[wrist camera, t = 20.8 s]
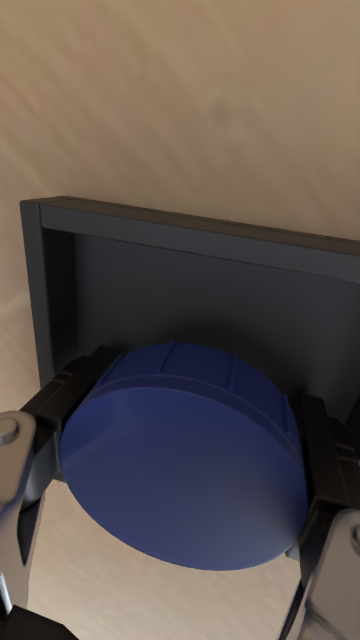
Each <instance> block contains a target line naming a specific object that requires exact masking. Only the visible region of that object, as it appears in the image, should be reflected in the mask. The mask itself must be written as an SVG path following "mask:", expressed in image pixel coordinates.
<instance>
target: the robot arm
mask: <svg viewBox="0 0 360 640" xmlns="http://www.w3.org/2000/svg"><path fill="white" fill-rule="evenodd" d="M121 354H122V355H123V356H124V351H123V350H122V349H118V348H114V347H109V346H105V345H101V346H99V347H98V348H97V349H96V350H95V351H94V352H93V354H92V355H91V356H90V357H89V356H85V355H83V356H81V357H79V358H77V359H75V360H73V361H71V362H69V363H68V364H67V365H66V366H65V367H64V368H63V369H62V370H61V371H60V373H58V374H57V375H56V376H55V377H54V378H52V381H49V382H48V383H47V384H46V385H45V386H44V387H43V388H42V389H41V390H40V391H39V392H38V393H37V394H36V395H35V396H34V397H33V398H32V399H31V400H30V401H28V402H27V403H26V404H25V405H24V406H23V407H22V408H21V409H20V410H19V411H7V412H3V413H0V640H79V639H78V638H77V637H76V636H75V635H73V634H72V633H71V632H70V631H69V630H68V629H67V628H66V627H65V626H64V625H63V624H60V623H58V622H55V621H53V620H51V619H48V618H46V617H43V616H41V615H39V614H36V613H34V612H31V611H29V610H27V603H28V585H29V574H30V568H31V563H32V558H33V554H34V549H35V544H36V539H37V534H38V530H39V525H40V520H41V515H42V510H43V506H44V501H45V490H46V488H47V487H48V485H49V484H50V482H51V481H52V480H53V479H55V480H58V481H61V482H65V483H66V480H65V478H64V475H63V472H62V469H61V464H60V458H59V445H60V439H61V434H62V432H63V429H64V427H65V424H66V423H67V421H68V420H69V418H70V417H71V415H72V414H73V413H74V411H75V410H76V409H77V408H78V406H79V405H80V404H81V403H82V401H83V400H84V399H85V398H86V396H87V395H88V394H89V393H90V391H91V390H92V389H93V388H94V386H95V385H96V384H97V383H98V381H99V380H100V379H101V378H102V376H103V375H104V374H105V373H106V371H107V370H108V369H109V368H110V367H111V366H112V364H113V363H114V362H115V361H116V359H117V358H118V357H119V356H120V355H121ZM291 409H292V412H293V414H294V416H295V419H296V422H297V426H298V430H299V437H300V441H301V442H302V449H303V456H304V464H305V471H306V479H307V494H308V513H307V520H306V523H305V526H304V528H303V531H302V533H301V534H300V536H299V538H298V539H297V541H296V542H295V543H294V544H293V545H292V546H291V547H290V548H289V549H288V550H287V551H286V557H289V558H292V559H295V560H298V561H300V569H301V578H300V580H299V582H298V584H297V586H296V588H295V591H294V594H293V596H292V599H291V601H290V604H289V607H288V609H287V612H286V615H285V617H284V620H283V623H282V625H281V628H280V631H279V633H278V636H277V638H276V640H360V465H359V460H358V457H357V454H356V452H355V448H354V445H353V442H352V438H351V435H350V433H349V432H348V431H347V429H346V428H345V427H344V425H343V424H342V423H341V422H340V420H339V419H336V418H332V417H328V415H327V411H326V407H325V403H324V400H323V398H320V397H316V396H312V395H308V394H303V393H299V392H297V393H296V394H295V396H294V399H293V401H292V404H291Z"/></svg>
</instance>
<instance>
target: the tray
mask: <svg viewBox="0 0 360 640" xmlns="http://www.w3.org/2000/svg"><path fill="white" fill-rule="evenodd" d="M20 211H21V220H22V228H23V237H24V246H25V255H26V263H27V272H28V281H29V290H30V299H31V307H32V316H33V325H34V334H35V342H36V351H37V360H38V369H39V377H40V386H41V389H42V388H43V387H44V386H45V385H46V384H47V383H48V382H49V381H52V378H54V377H55V376H56V375H57V374H58V373H60V371H61V370H62V369H63V368H64V367H65V366H66V365H67V364H68V363H69V362H71V361H73V360H75V359H77V358H79V357H81V356H83V355H85V356H89V357H90V356H91V355H92V354H93V352H94V351H95V350H96V349H97V348H98V347H99V346H101V345H105V346H109V347H114V348H118V349H122V350H123V351H124V356H125V355H127V354H129V353H131V352H133V351H135V350H138V349H140V348H144V347H147V346H151V345H156V344H162V343H170V342H171V341H175V343H191V344H197V345H203V346H207V347H211V348H214V349H218V350H221V351H223V352H227V353H229V354H231V355H234V354H235V355H238V358H239V359H241V360H243V361H245V362H246V363H248V364H250V365H251V366H253V367H254V368H255V369H257V370H258V371H260V372H261V373H262V374H263V375H264V376H266V377H267V378H268V379H269V380H270V381H271V382H272V383H273V384H274V385H275V386H276V388H277V389H278V390H279V391H280V392H281V393H282V394H283V393H285V394H286V395H287V401H288V404H289V405H290V407H291V404H292V401H293V399H294V396H295V394H296V393H297V392H299V393H303V394H308V395H312V396H316V397H320V398H323V400H324V403H325V407H326V411H327V415H328V417H332V418H336V419H339V420H340V422H341V423H342V424H343V425H344V427H345V428H346V429H347V431H348V432H349V433H350V435H351V438H352V442H353V445H354V448H355V452H356V454H357V457H358V460H359V465H360V241H353V240H347V239H341V238H334V237H328V236H321V235H315V234H308V233H302V232H295V231H289V230H282V229H276V228H269V227H263V226H256V225H250V224H243V223H237V222H230V221H224V220H217V219H211V218H204V217H198V216H191V215H185V214H178V213H172V212H165V211H159V210H152V209H146V208H139V207H133V206H126V205H120V204H113V203H107V202H100V201H94V200H87V199H81V198H75V197H68V196H57V197H49V198H40V199H30V200H22V201H20ZM284 553H286V552H284Z"/></svg>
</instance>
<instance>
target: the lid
mask: <svg viewBox="0 0 360 640" xmlns="http://www.w3.org/2000/svg"><path fill="white" fill-rule="evenodd" d="M59 458H60V464H61V469H62V472H63V475H64V478H65V480H66V483H67V485H68V487H69V489H70V490H71V492H72V494H73V495H74V497H75V499H76V500H77V501H78V502H79V504H80V505H81V506H82V508H83V509H84V510H85V511H86V512H87V513H88V514H89V515H90V516H91V517H92V518H93V519H94V520H95V521H96V522H97V523H98V524H99V525H100V526H101V527H103V528H104V529H105V530H107V531H108V532H109V533H110V534H112V535H113V536H115V537H116V538H118V539H119V540H121V541H122V542H124V543H126V544H127V545H129V546H131V547H133V548H135V549H136V550H139V551H141V552H143V553H145V554H147V555H149V556H152V557H155V558H157V559H160V560H162V561H166V562H169V563H172V564H176V565H180V566H184V567H189V568H195V569H202V570H215V571H226V570H239V569H245V568H250V567H255V566H258V565H261V564H264V563H267V562H269V561H271V560H273V559H275V558H277V557H279V556H280V555H281V554H283V553H284V552H286V551H287V550H288V549H289V548H290V547H291V546H292V545H293V544H294V543H295V542H296V541H297V539H298V538H299V536H300V534H301V533H302V531H303V528H304V526H305V523H306V520H307V513H308V494H307V479H306V471H305V464H304V456H303V449H302V442H301V441H300V437H299V430H298V426H297V422H296V419H295V416H294V414H293V412H292V409H291V407H290V405H289V404H288V401H287V395H286V394H285V393H283V394H282V393H281V392H280V391H279V390H278V389H277V388H276V386H275V385H274V384H273V383H272V382H271V381H270V380H269V379H268V378H267V377H266V376H264V375H263V374H262V373H261V372H260V371H258V370H257V369H255V368H254V367H253V366H251V365H250V364H248V363H246V362H245V361H243V360H241V359H239V358H238V355H235V354H234V355H231V354H229V353H227V352H223V351H221V350H218V349H214V348H211V347H207V346H203V345H197V344H191V343H175V341H171V342H170V343H162V344H156V345H151V346H147V347H144V348H140V349H138V350H135V351H133V352H131V353H129V354H127V355H125V356H123V355H122V354H121V355H120V356H119V357H118V358H117V359H116V361H115V362H114V363H113V364H112V366H111V367H110V368H109V369H108V370H107V371H106V373H105V374H104V375H103V376H102V378H101V379H100V380H99V381H98V383H97V384H96V385H95V386H94V388H93V389H92V390H91V391H90V393H89V394H88V395H87V396H86V398H85V399H84V400H83V401H82V403H81V404H80V405H79V406H78V408H77V409H76V410H75V411H74V413H73V414H72V415H71V417H70V418H69V420H68V421H67V423H66V424H65V427H64V429H63V432H62V434H61V439H60V445H59Z"/></svg>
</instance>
